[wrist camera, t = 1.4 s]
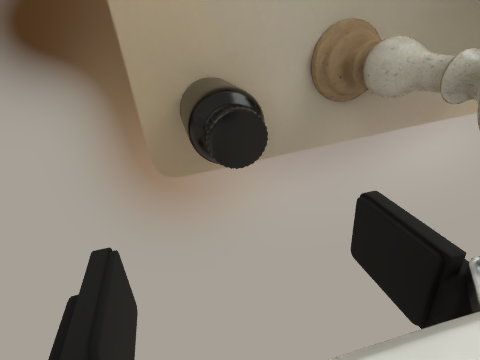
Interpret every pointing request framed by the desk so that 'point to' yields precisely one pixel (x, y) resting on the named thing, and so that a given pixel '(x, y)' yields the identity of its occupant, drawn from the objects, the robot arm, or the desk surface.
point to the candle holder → (390, 66)
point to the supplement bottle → (223, 123)
